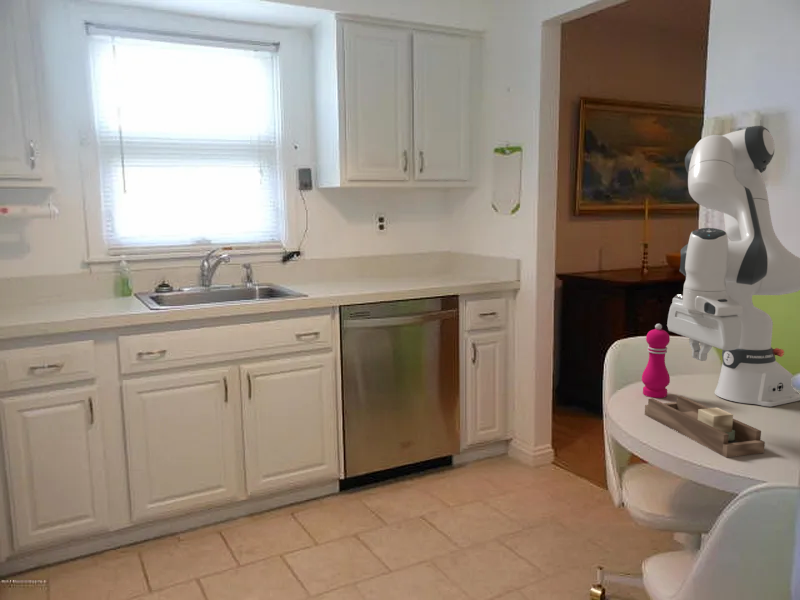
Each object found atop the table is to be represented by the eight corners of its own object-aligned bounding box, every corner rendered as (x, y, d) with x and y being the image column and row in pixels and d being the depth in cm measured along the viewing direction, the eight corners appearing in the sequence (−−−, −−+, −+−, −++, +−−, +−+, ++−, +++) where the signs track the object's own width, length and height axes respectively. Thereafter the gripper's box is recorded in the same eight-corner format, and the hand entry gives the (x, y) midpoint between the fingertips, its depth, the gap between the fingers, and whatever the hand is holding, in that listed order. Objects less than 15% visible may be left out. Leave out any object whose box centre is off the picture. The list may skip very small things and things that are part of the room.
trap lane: (677, 411, 166) (678, 394, 166) (763, 452, 139) (765, 432, 138) (644, 414, 164) (645, 397, 163) (726, 457, 137) (727, 437, 136)
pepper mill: (637, 390, 184) (640, 321, 181) (663, 390, 184) (667, 321, 181) (646, 398, 177) (649, 326, 174) (673, 398, 177) (677, 326, 174)
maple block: (716, 424, 149) (717, 407, 149) (731, 431, 145) (733, 414, 144) (697, 426, 148) (698, 409, 148) (712, 433, 144) (713, 416, 143)
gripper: (662, 293, 158) (659, 348, 160) (724, 310, 138) (718, 373, 141) (684, 291, 159) (681, 346, 162) (749, 308, 140) (743, 370, 142)
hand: (699, 359), depth 151 cm, fingers closed
